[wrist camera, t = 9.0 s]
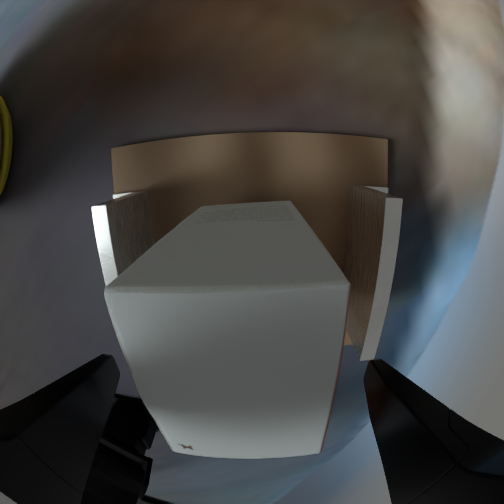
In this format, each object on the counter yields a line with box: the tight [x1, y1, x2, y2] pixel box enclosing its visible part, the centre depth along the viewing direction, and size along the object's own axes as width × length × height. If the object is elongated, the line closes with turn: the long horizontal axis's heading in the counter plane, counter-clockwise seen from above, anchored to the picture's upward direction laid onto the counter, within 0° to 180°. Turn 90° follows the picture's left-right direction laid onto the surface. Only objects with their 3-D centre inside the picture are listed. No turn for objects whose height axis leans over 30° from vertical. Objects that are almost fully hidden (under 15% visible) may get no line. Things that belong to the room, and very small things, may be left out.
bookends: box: [91, 185, 403, 361], centre depth 17 cm, size 20×10×6 cm, turn 92°
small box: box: [104, 201, 351, 458], centre depth 13 cm, size 8×6×13 cm
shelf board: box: [111, 132, 388, 345], centre depth 20 cm, size 20×17×1 cm
